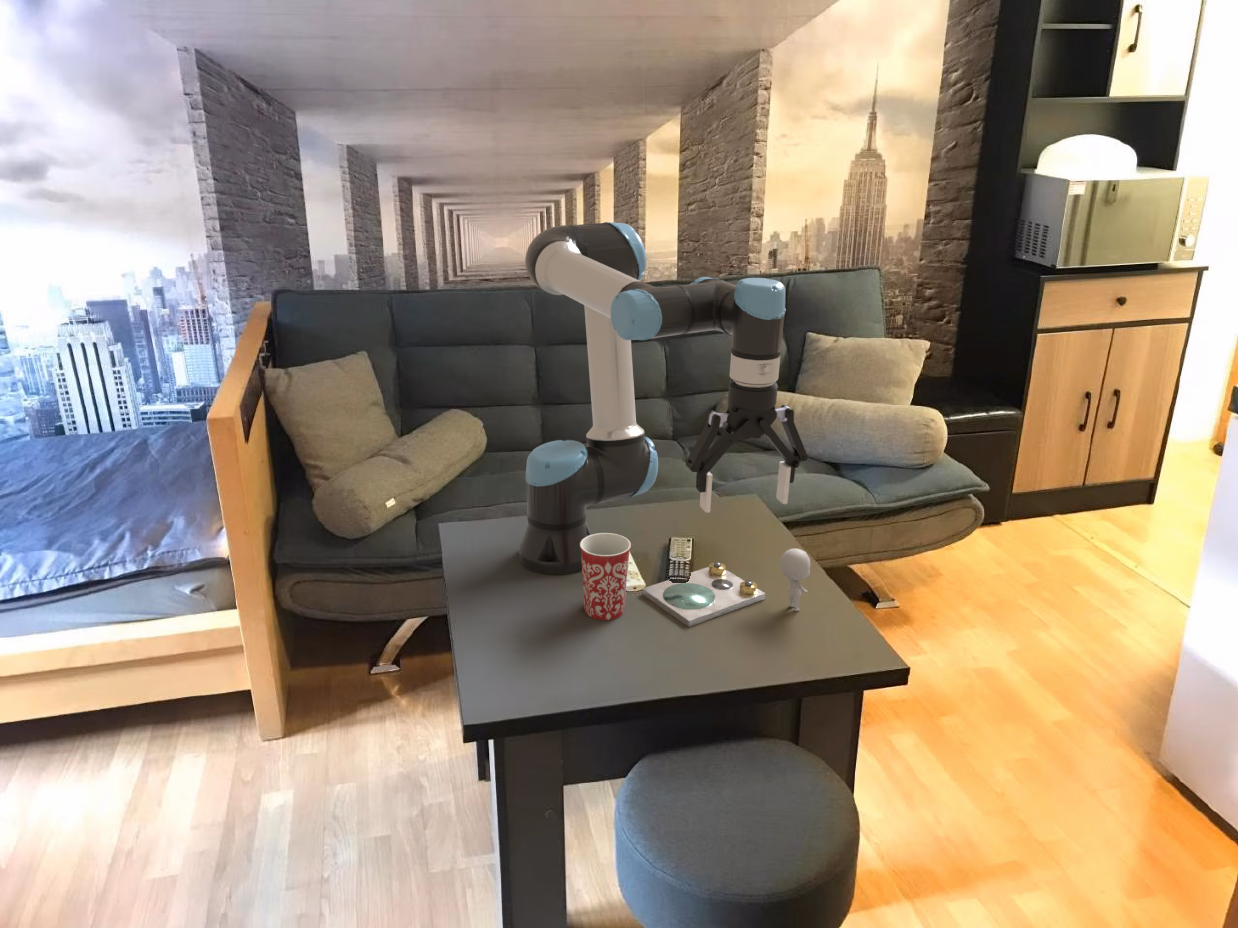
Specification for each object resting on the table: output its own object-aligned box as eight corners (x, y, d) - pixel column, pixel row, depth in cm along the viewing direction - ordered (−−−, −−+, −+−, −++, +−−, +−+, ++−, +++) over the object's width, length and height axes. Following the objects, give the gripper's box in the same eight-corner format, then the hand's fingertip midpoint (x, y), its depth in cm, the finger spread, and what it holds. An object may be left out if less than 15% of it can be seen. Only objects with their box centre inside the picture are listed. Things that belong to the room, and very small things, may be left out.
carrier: (642, 594, 181) (642, 579, 180) (716, 569, 191) (717, 555, 190) (689, 626, 171) (689, 611, 169) (764, 599, 180) (765, 584, 179)
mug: (634, 621, 172) (635, 553, 167) (583, 625, 170) (584, 556, 166) (620, 587, 184) (621, 522, 179) (573, 590, 182) (573, 525, 177)
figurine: (815, 616, 174) (821, 557, 170) (789, 622, 172) (795, 562, 168) (792, 596, 181) (798, 538, 177) (767, 601, 179) (772, 542, 175)
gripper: (686, 393, 143) (679, 522, 151) (837, 382, 150) (823, 506, 158) (669, 378, 150) (664, 503, 158) (814, 368, 157) (802, 488, 165)
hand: (743, 505), depth 158 cm, fingers open, 13 cm apart
